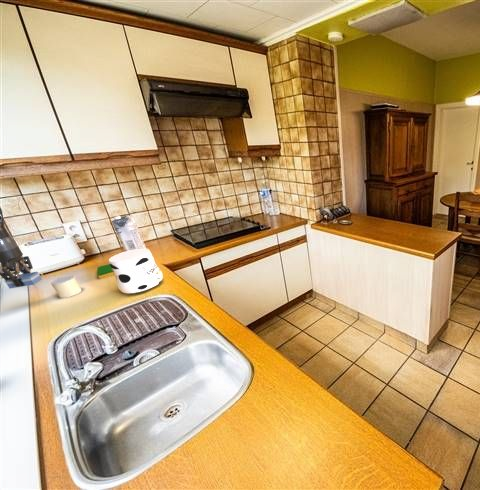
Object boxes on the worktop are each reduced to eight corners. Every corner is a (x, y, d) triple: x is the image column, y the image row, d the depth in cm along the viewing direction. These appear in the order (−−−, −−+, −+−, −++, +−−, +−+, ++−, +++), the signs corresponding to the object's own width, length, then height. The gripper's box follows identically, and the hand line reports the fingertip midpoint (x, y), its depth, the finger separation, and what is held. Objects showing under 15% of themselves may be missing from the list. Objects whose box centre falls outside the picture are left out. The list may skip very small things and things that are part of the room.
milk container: (171, 283, 134) (158, 251, 127) (129, 301, 121) (112, 266, 114) (157, 275, 143) (144, 244, 136) (116, 290, 130) (99, 258, 123)
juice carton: (149, 251, 173) (132, 212, 163) (145, 257, 165) (128, 216, 154) (132, 255, 170) (114, 215, 159) (128, 261, 161) (108, 219, 150)
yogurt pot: (55, 300, 125) (46, 285, 122) (65, 291, 132) (57, 277, 128) (76, 295, 127) (68, 281, 124) (85, 287, 134) (77, 274, 131)
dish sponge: (99, 279, 142) (97, 275, 141) (99, 270, 151) (97, 267, 150) (116, 274, 147) (114, 270, 146) (115, 266, 156) (113, 262, 155)
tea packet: (9, 288, 114) (4, 280, 112) (18, 283, 118) (13, 275, 117) (34, 284, 116) (29, 276, 115) (42, 279, 121) (37, 271, 119)
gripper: (4, 243, 115) (26, 277, 122) (-25, 256, 103) (0, 293, 110) (28, 240, 118) (47, 273, 124) (1, 253, 105) (25, 289, 112)
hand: (25, 282), depth 117 cm, fingers closed on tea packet, 5 cm apart
